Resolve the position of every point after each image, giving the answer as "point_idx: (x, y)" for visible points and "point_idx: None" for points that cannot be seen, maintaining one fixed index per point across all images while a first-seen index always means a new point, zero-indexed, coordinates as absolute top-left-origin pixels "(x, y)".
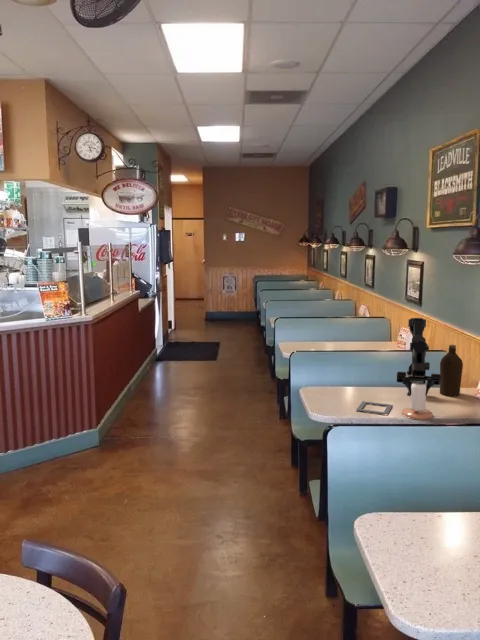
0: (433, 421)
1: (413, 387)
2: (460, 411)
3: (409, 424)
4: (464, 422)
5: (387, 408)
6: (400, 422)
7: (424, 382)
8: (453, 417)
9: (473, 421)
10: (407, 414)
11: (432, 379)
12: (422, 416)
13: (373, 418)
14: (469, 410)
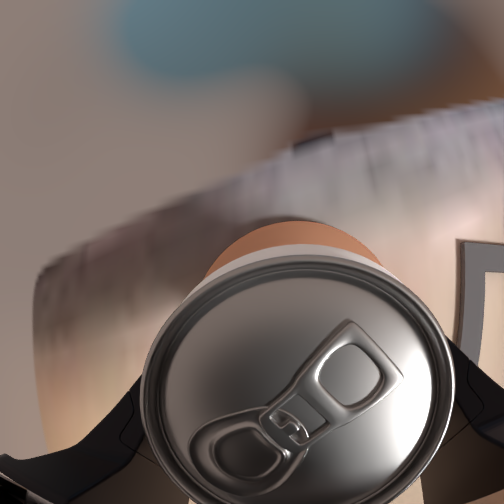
0: (192, 232)
1: (393, 276)
2: (81, 435)
3: (323, 133)
4: (60, 275)
5: (473, 351)
6: (374, 148)
7: (169, 472)
8: (96, 340)
9: (35, 302)
10: (358, 252)
11: (6, 462)
12: (256, 247)
13: (494, 173)
14: (58, 447)
